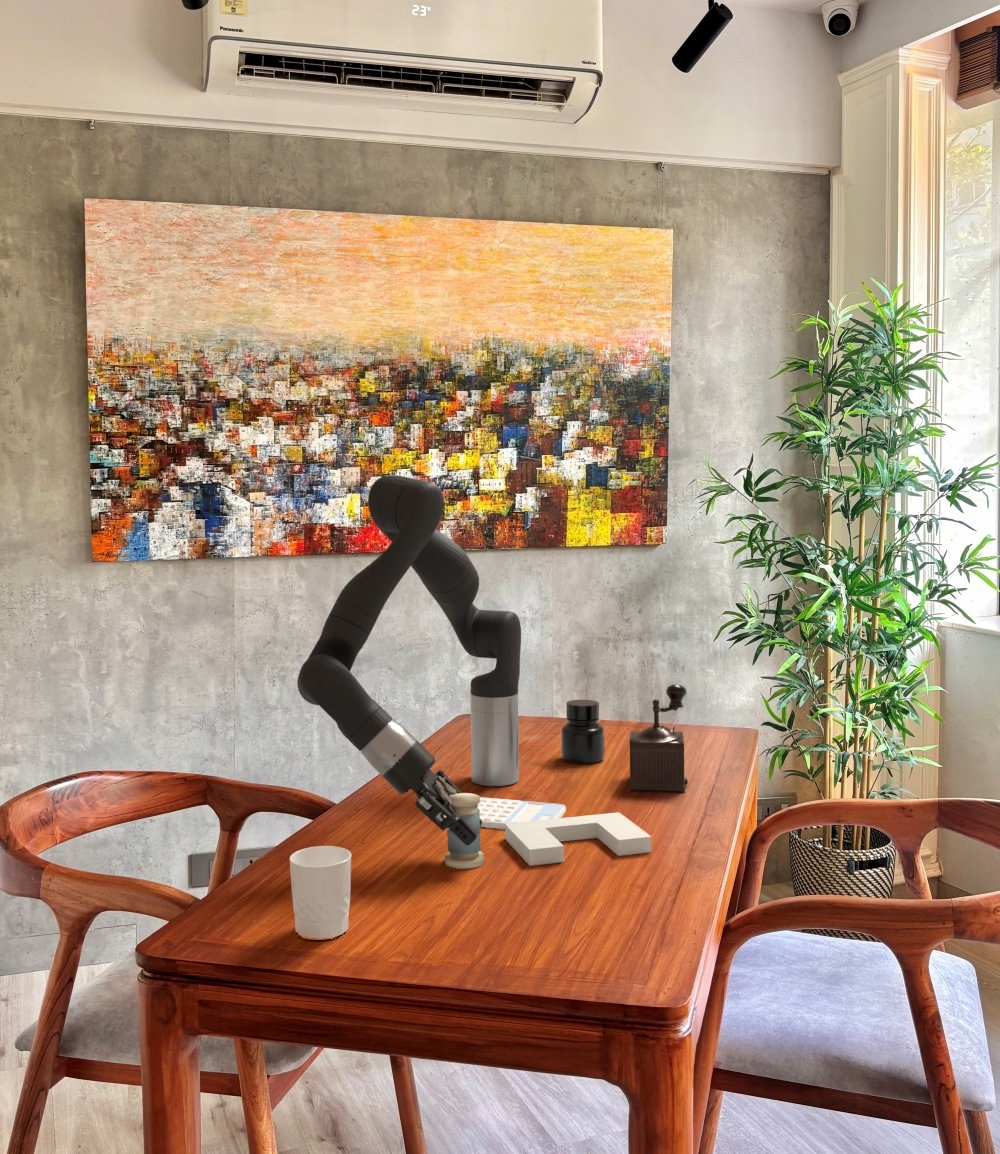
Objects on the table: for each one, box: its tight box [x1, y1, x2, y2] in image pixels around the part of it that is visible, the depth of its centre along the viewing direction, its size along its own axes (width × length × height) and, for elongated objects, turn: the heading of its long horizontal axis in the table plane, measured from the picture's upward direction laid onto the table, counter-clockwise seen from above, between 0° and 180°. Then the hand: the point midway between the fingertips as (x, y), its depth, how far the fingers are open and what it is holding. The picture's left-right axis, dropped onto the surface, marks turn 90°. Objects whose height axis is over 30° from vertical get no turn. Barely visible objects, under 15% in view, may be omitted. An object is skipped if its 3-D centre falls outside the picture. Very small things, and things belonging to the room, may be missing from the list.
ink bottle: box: [560, 699, 605, 765], centre depth 225 cm, size 10×9×12 cm
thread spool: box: [444, 792, 485, 870], centre depth 164 cm, size 6×6×10 cm
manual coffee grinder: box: [629, 684, 689, 794], centre depth 208 cm, size 16×11×18 cm
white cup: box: [289, 845, 352, 939], centre depth 139 cm, size 8×8×10 cm
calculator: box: [444, 796, 567, 830], centre depth 187 cm, size 13×20×2 cm, turn 73°
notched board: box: [504, 811, 652, 867], centre depth 172 cm, size 13×20×2 cm, turn 106°
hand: (475, 833), depth 164 cm, fingers open, 6 cm apart
